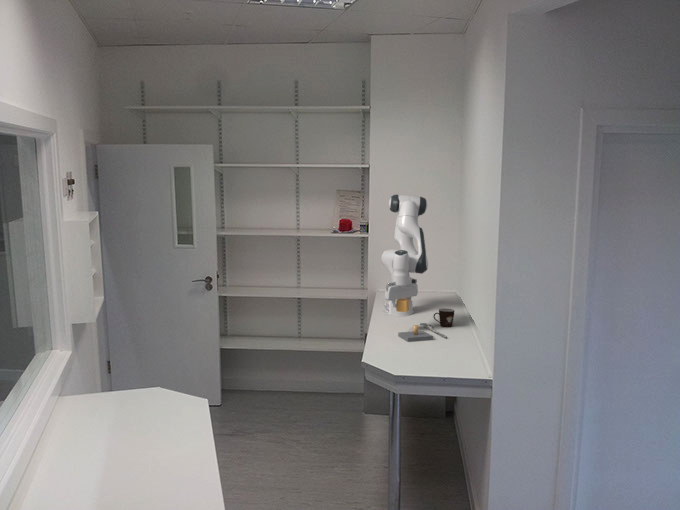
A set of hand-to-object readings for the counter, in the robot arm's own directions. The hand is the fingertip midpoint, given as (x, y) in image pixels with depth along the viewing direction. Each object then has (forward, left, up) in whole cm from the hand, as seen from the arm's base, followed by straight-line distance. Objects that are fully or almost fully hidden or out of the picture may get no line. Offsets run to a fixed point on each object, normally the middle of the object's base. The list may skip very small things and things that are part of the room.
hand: (401, 306), depth 316 cm
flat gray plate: (+17, +1, -13) cm, 21 cm away
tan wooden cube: (+1, +1, -2) cm, 2 cm away
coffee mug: (0, +26, -14) cm, 29 cm away
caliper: (+8, +19, -14) cm, 25 cm away
